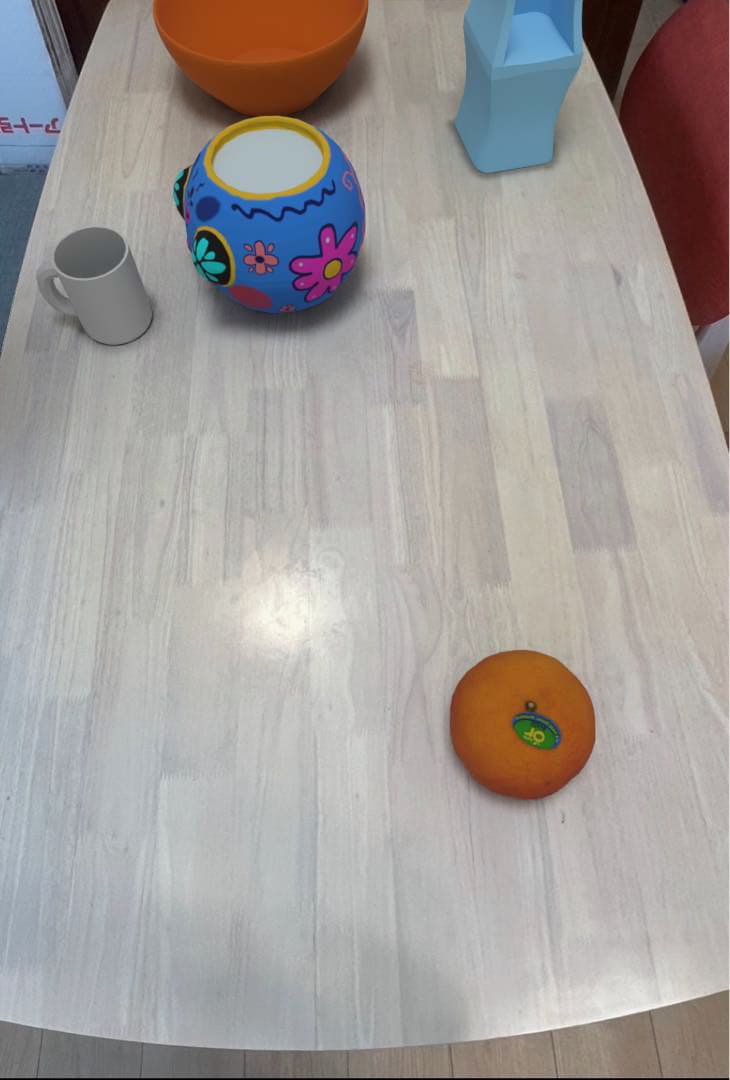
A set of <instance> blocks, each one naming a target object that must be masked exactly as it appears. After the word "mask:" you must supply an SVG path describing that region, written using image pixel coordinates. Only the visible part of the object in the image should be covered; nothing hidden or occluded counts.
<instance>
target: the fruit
mask: <svg viewBox="0 0 730 1080" xmlns="http://www.w3.org/2000/svg"><path fill="white" fill-rule="evenodd" d="M449 713H450V714H449V733H450V739H451V743H452V746H453V749H454V753H455V754H456V756H457V757H458V759H459V760H460V761H461V763H462V764H463V766H464V767H465V769H467V771H468V772H469V773H470V775H471V776H472V777H473V778H474V780H475V781H476V782H477V783H479V784H480V785H481V786H483V787H485V788H486V789H488V790H489V791H491V792H493V793H496V794H499V795H502V796H504V797H505V796H506V797H510V798H514V799H515V798H516V799H519V800H527V801H531V800H535V801H536V800H540V799H544V798H547V797H550V796H552V795H554V794H555V793H556V794H557V792H559V791H560V790H561V789H563V788H564V787H565V786H567V785H568V783H570V782H571V781H572V780H574V779H575V777H577V776H578V775H579V774H580V773H581V771H582V770H583V769H584V768H585V767H586V765H587V763H588V761H589V760H590V758H591V755H592V752H593V751H594V746H595V744H596V739H597V737H596V733H597V731H596V728H597V727H596V713H595V708H594V704H593V701H592V698H591V695H590V694H589V692H588V690H587V688H586V687H585V686H584V684H583V683H582V682H581V680H580V679H579V678H578V676H577V675H576V674H574V673H573V671H571V670H570V669H569V668H568V667H567V666H566V665H565V664H564V663H563V662H562V661H560V660H559V659H558V658H556V657H554V656H551V655H549V654H546V653H544V652H540V651H536V650H529V649H512V650H505V651H500V652H497V653H493V654H491V655H488V656H485V658H482V659H481V660H480V661H479V662H478V663H477V662H476V664H474V666H472V667H471V668H470V669H468V670H467V671H466V672H465V674H463V676H462V677H461V678H460V679H459V681H458V683H457V684H456V687H455V689H454V691H453V693H452V695H451V701H450V706H449Z"/></svg>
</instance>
